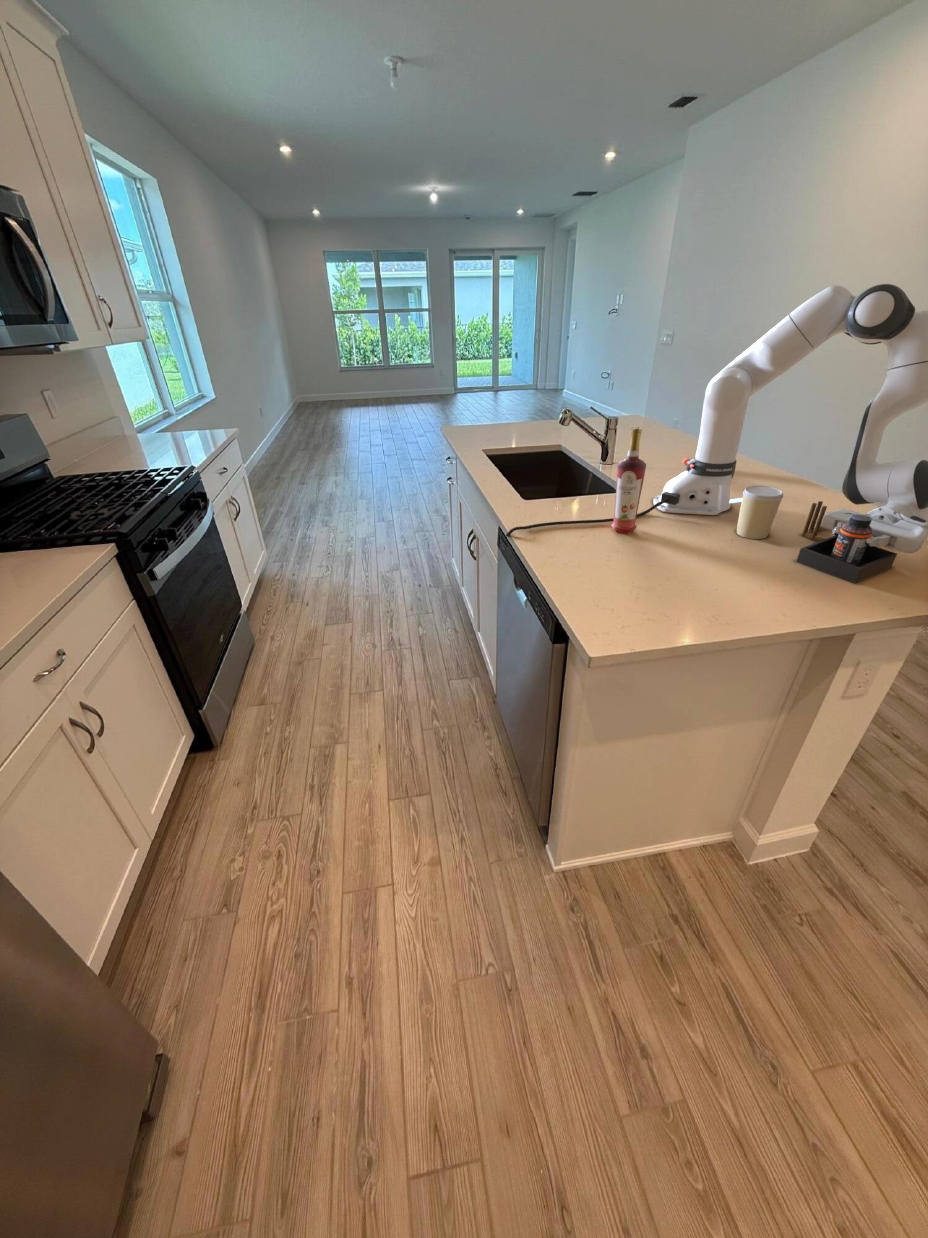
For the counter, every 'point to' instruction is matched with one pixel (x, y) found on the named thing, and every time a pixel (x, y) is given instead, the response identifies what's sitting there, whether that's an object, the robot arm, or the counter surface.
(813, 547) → the tray
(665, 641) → the counter surface
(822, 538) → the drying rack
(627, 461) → the liquor
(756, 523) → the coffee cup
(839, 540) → the supplement bottle
